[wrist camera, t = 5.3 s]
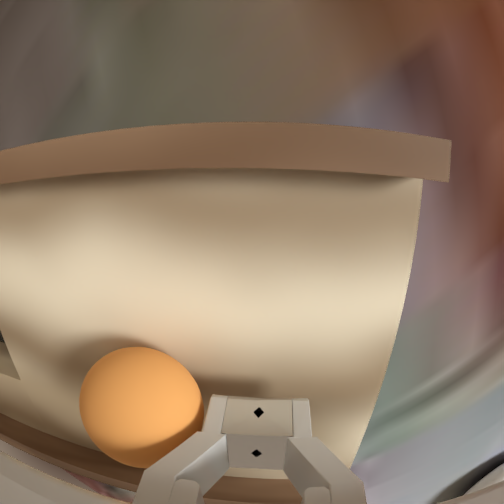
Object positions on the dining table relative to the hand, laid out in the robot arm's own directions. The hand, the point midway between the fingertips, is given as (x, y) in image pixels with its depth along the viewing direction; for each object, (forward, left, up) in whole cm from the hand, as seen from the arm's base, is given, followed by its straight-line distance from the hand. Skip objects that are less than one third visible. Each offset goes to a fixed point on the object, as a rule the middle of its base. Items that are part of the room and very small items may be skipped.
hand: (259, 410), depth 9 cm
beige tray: (0, -8, -4) cm, 9 cm away
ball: (0, -4, +1) cm, 4 cm away
